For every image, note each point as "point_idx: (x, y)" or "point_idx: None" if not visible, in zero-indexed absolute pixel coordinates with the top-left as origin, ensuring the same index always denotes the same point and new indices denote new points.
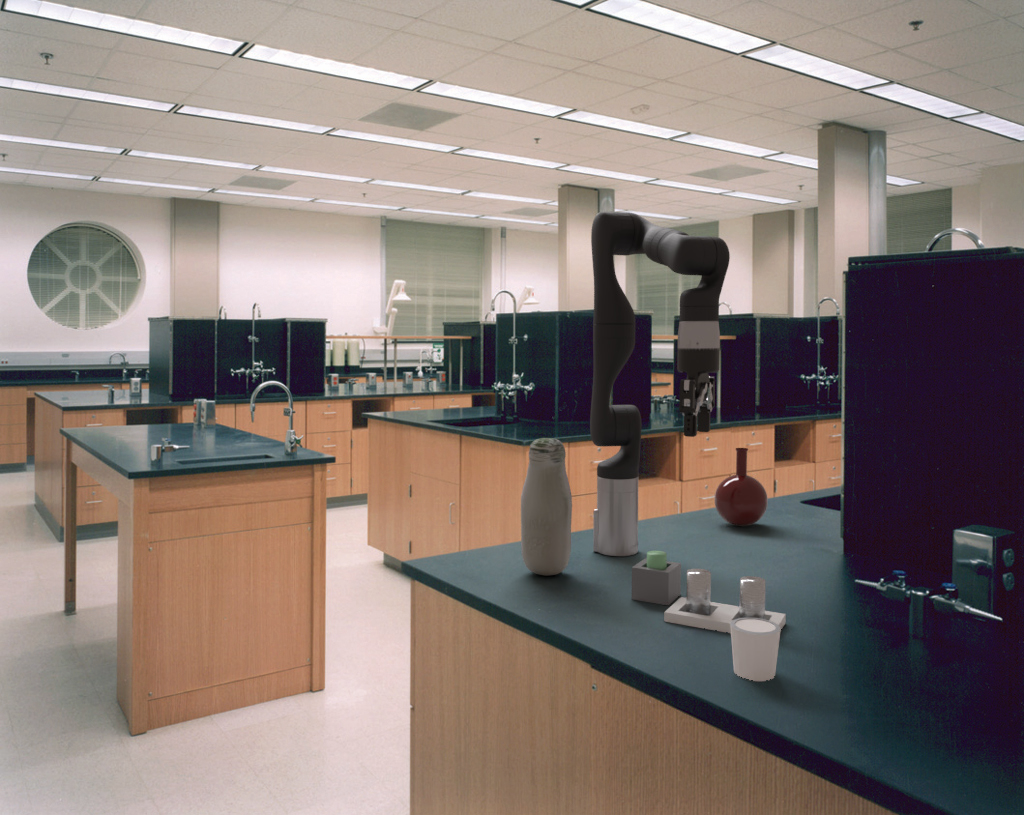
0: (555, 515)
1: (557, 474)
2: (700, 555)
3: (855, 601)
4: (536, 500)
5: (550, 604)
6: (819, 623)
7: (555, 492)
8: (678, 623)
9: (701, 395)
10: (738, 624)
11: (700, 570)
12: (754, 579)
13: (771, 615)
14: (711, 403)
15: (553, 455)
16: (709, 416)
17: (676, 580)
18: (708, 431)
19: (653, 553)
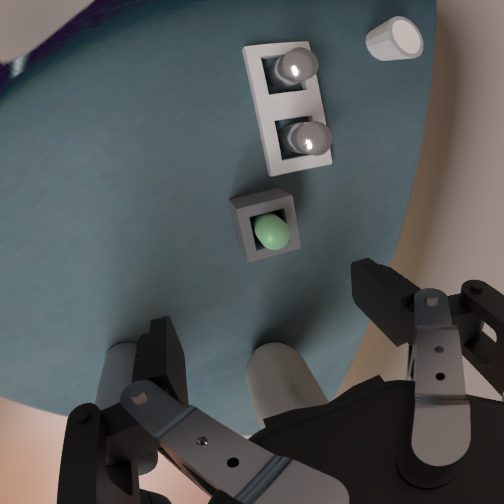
0: (313, 385)
1: None
2: (56, 283)
3: (100, 27)
4: None
5: (349, 284)
6: (213, 22)
7: None
8: None
9: (461, 360)
10: (412, 50)
11: (308, 139)
12: (299, 61)
13: (260, 57)
14: (104, 429)
15: None
16: (164, 360)
17: (252, 199)
18: (167, 316)
19: (279, 237)
